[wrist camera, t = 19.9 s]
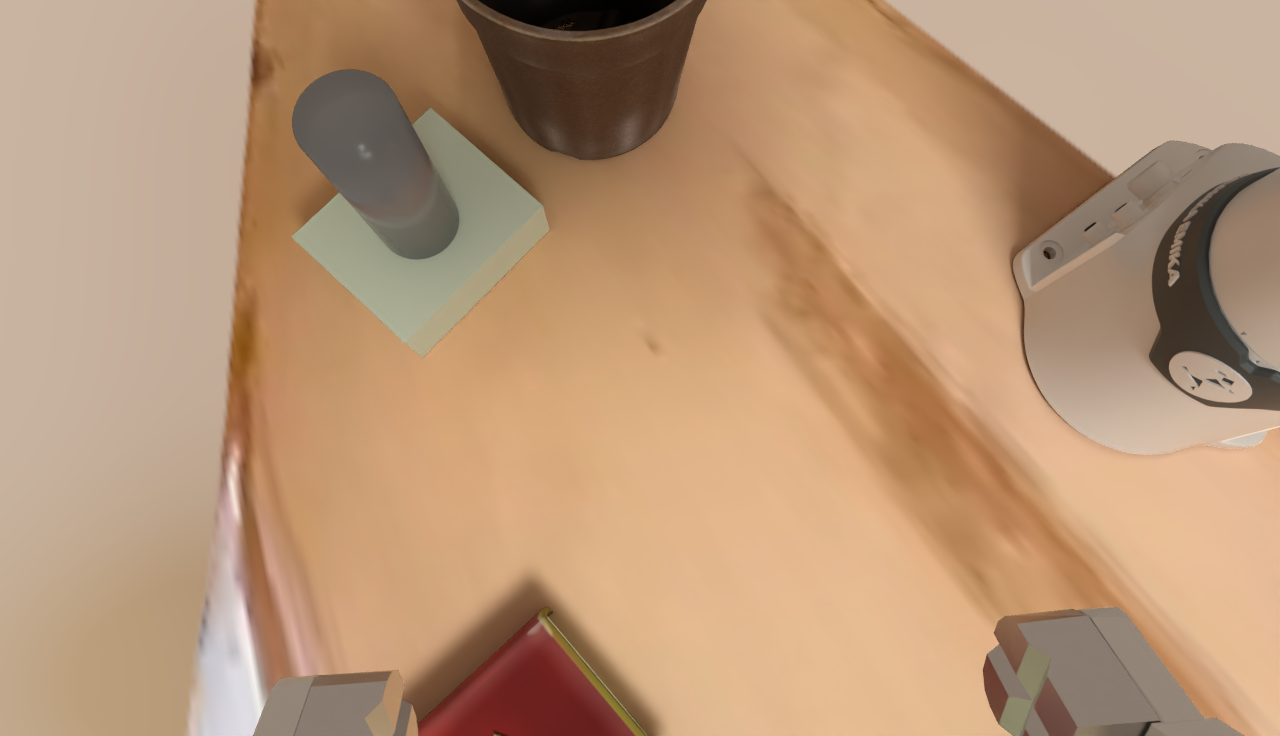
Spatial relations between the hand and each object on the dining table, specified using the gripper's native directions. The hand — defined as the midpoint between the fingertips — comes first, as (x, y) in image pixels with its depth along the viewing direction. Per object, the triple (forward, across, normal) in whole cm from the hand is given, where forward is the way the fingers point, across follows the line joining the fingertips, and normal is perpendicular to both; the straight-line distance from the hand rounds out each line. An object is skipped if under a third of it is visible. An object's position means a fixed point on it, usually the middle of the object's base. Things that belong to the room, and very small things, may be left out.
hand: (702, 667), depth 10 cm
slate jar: (+38, +13, +8) cm, 41 cm away
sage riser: (+41, +13, +11) cm, 45 cm away
